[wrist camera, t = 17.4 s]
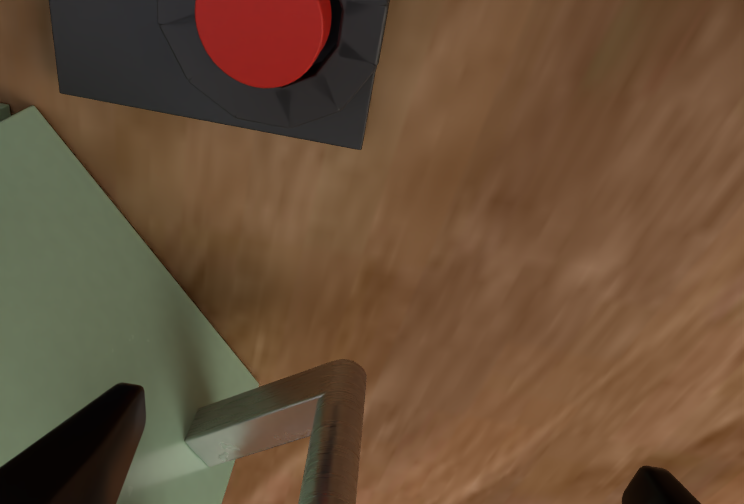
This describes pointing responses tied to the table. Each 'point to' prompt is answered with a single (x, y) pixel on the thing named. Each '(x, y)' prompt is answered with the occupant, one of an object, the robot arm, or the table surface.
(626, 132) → the table surface
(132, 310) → the cabinet door
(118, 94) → the button block
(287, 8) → the release button
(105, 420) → the robot arm
